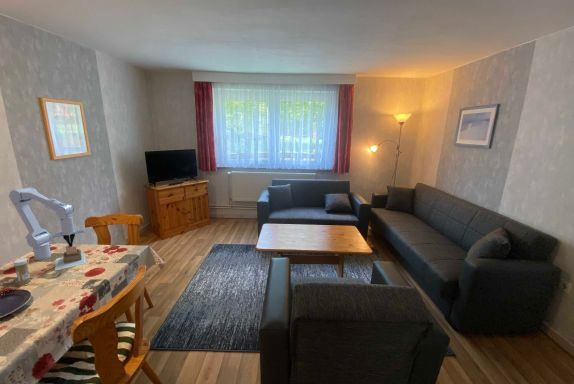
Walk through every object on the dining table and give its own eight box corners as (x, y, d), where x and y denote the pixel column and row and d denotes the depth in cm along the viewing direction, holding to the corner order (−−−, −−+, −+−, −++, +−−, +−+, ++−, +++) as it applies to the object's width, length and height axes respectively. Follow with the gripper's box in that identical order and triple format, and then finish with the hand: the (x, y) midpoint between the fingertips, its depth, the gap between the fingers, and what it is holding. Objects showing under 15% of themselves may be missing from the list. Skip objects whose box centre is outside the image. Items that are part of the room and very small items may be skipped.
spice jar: (30, 285, 128) (25, 261, 125) (17, 287, 126) (11, 263, 123) (32, 280, 132) (27, 257, 129) (20, 283, 129) (15, 259, 126)
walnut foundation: (64, 258, 154) (63, 251, 153) (81, 254, 159) (80, 248, 158) (64, 263, 148) (63, 256, 147) (81, 259, 153) (80, 253, 152)
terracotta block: (67, 253, 152) (65, 245, 151) (77, 251, 155) (75, 243, 154) (67, 256, 149) (65, 248, 148) (77, 254, 152) (75, 246, 151)
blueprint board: (56, 260, 153) (55, 258, 152) (85, 254, 162) (85, 252, 161) (54, 272, 140) (54, 270, 140) (86, 264, 149) (86, 263, 149)
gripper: (50, 229, 141) (54, 251, 144) (83, 224, 150) (86, 245, 153) (51, 225, 146) (54, 247, 149) (82, 221, 155) (86, 241, 158)
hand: (70, 246), depth 151 cm, fingers closed, pressing on terracotta block
